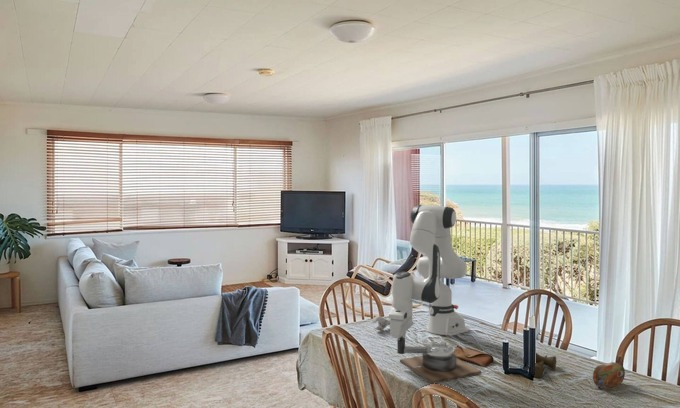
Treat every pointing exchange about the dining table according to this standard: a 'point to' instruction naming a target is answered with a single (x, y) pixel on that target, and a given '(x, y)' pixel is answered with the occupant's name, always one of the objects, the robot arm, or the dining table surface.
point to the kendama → (543, 361)
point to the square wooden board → (439, 368)
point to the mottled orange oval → (608, 375)
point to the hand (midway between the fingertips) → (401, 342)
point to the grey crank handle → (427, 349)
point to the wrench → (381, 323)
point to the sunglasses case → (473, 356)
